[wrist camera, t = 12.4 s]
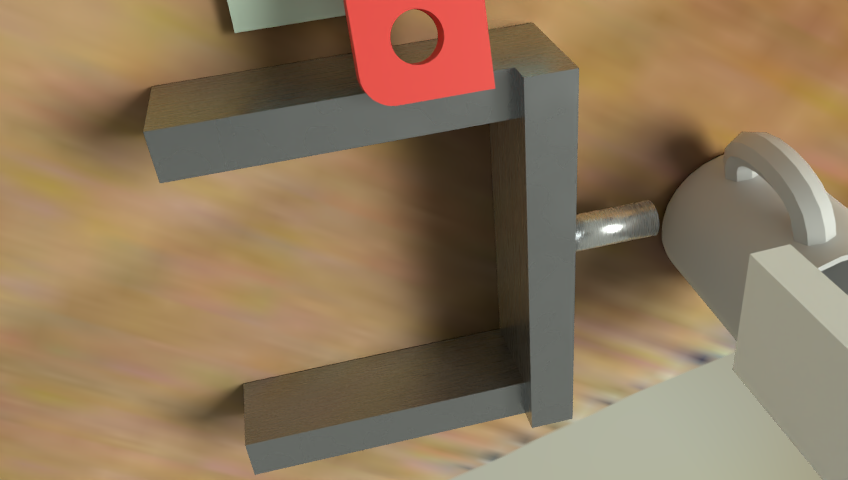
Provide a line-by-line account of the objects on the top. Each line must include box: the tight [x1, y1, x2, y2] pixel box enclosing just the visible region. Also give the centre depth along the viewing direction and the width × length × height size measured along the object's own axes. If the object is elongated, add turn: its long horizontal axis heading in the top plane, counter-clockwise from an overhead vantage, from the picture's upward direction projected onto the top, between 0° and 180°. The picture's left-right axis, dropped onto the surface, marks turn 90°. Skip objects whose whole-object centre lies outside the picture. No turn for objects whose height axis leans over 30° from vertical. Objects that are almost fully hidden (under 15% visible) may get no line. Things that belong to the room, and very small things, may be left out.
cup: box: [662, 132, 848, 341], centre depth 35 cm, size 7×10×9 cm
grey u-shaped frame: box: [143, 23, 659, 475], centre depth 34 cm, size 20×18×5 cm
